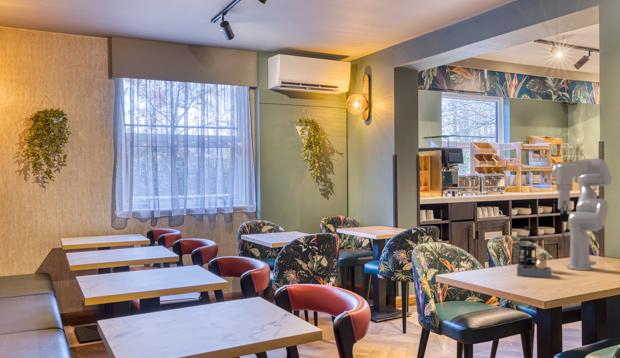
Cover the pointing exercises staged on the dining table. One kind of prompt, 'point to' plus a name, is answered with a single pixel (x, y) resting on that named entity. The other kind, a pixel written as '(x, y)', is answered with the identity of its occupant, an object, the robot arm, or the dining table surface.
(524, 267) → the block
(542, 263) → the brass fitting
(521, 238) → the french press
